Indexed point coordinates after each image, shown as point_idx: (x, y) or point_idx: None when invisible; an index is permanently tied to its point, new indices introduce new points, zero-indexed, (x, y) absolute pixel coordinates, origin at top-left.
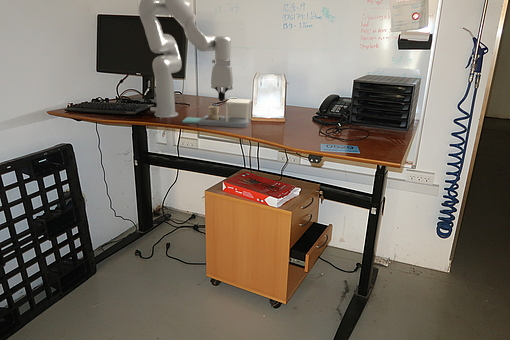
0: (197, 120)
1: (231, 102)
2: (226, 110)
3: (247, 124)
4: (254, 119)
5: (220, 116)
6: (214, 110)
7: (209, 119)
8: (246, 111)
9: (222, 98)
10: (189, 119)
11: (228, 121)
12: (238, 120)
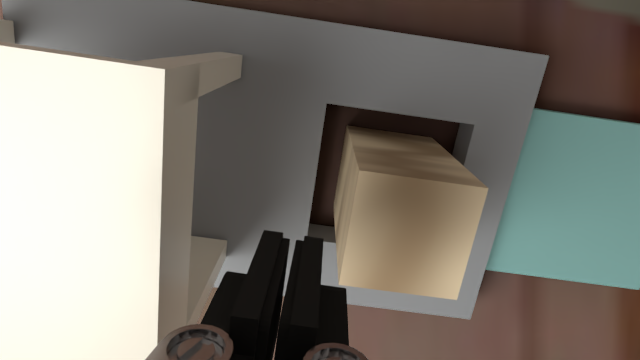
0: (545, 173)
1: (38, 48)
2: (200, 58)
3: None
4: None
5: (324, 276)
6: (389, 166)
7: (429, 144)
8: None
9: (255, 254)
10: (624, 205)
11: None
12: None
